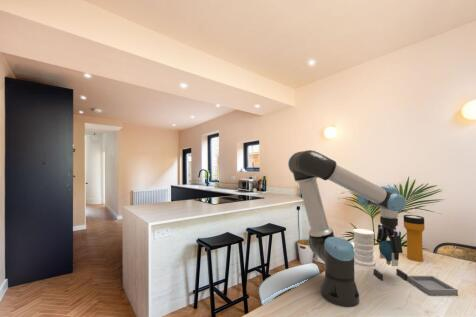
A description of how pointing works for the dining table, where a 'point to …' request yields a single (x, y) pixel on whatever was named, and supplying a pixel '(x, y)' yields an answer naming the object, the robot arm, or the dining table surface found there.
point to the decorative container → (363, 247)
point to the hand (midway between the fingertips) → (388, 261)
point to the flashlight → (414, 236)
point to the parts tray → (432, 286)
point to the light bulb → (386, 250)
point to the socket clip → (398, 272)
